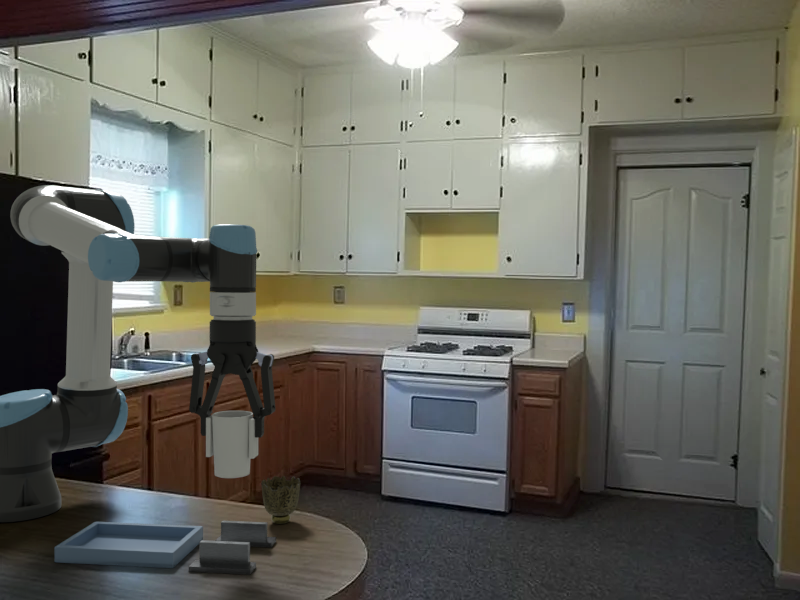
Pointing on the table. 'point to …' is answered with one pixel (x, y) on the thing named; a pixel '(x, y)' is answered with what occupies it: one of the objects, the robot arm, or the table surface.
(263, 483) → the cup
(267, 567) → the table surface
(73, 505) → the table surface
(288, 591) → the table surface
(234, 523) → the bracket
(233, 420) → the white tumbler
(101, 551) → the tray
